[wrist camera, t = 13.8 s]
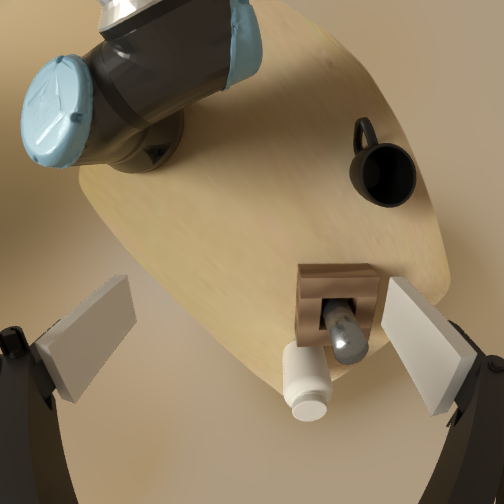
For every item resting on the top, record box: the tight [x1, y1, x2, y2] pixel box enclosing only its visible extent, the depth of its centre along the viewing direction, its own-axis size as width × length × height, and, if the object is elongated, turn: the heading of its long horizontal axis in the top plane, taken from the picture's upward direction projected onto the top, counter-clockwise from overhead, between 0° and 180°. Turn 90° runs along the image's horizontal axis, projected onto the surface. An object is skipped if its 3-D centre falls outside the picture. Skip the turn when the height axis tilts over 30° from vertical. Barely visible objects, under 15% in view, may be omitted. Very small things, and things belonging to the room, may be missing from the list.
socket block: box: [295, 264, 380, 347], centre depth 43 cm, size 12×12×6 cm
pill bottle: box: [283, 340, 333, 421], centre depth 43 cm, size 8×8×15 cm
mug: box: [349, 117, 416, 208], centre depth 35 cm, size 8×12×10 cm
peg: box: [321, 298, 369, 365], centre depth 38 cm, size 4×4×14 cm
